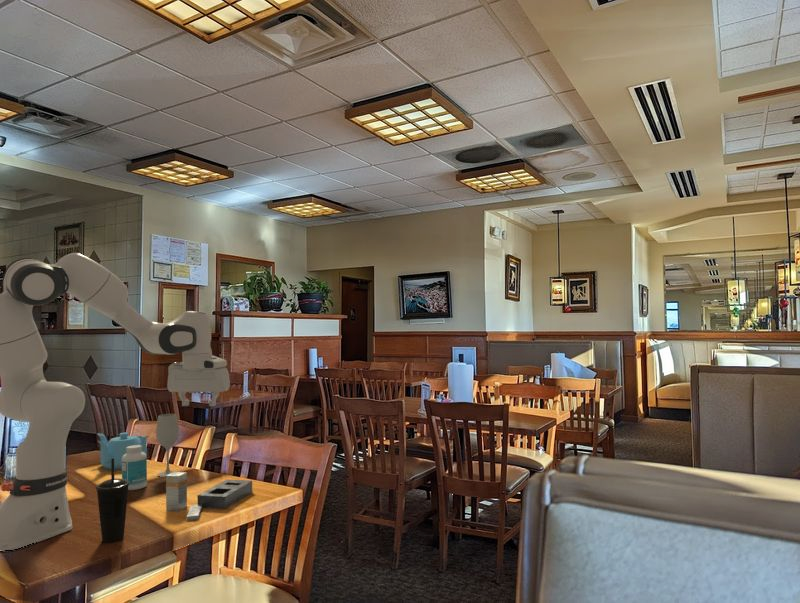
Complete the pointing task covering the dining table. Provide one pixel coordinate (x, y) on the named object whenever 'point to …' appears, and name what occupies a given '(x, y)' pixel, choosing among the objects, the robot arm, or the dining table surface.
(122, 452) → the teapot
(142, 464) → the pill bottle
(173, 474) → the small grey carton
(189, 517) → the light grey bar
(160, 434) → the wineglass
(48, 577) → the dining table surface
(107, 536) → the drinking cup
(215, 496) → the socket block
